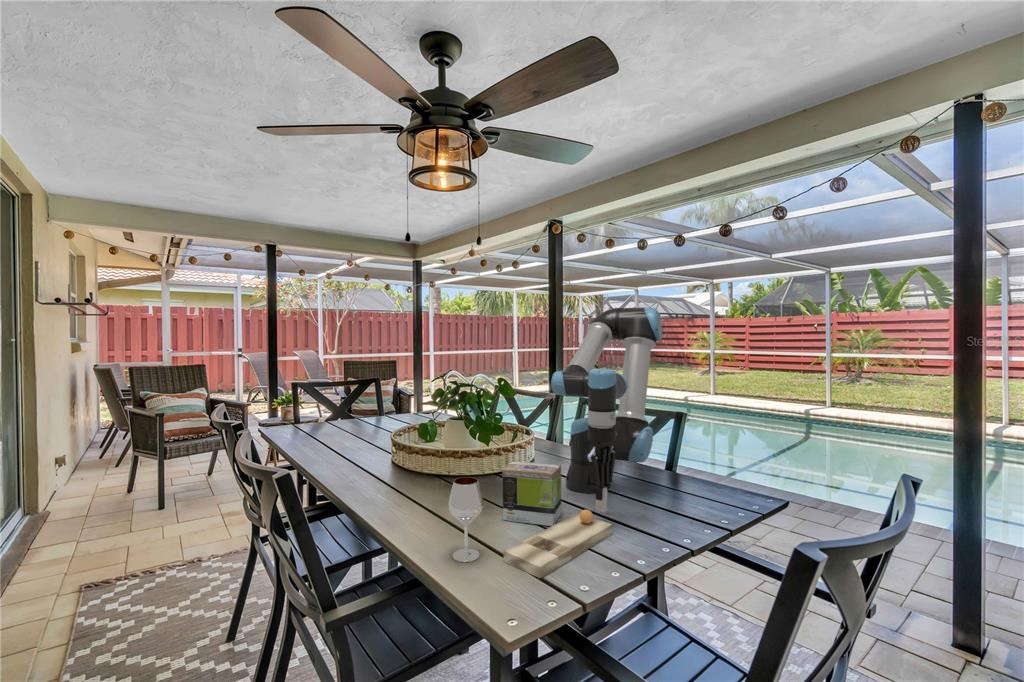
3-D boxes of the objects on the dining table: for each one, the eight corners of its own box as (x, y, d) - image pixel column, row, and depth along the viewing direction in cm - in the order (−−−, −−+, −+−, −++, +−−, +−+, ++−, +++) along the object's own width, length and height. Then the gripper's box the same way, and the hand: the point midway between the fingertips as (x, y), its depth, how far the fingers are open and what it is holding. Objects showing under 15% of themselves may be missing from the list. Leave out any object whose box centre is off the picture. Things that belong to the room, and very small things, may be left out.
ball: (576, 523, 125) (577, 510, 125) (584, 519, 127) (584, 506, 127) (588, 527, 122) (588, 513, 122) (595, 522, 125) (595, 509, 125)
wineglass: (449, 548, 116) (449, 475, 116) (482, 547, 117) (482, 475, 116) (448, 565, 108) (447, 487, 107) (483, 563, 109) (483, 486, 108)
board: (503, 561, 110) (503, 550, 110) (577, 522, 132) (577, 513, 132) (540, 578, 102) (540, 567, 102) (612, 533, 124) (612, 524, 124)
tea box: (561, 514, 137) (562, 463, 137) (553, 528, 128) (553, 474, 127) (513, 507, 142) (513, 459, 142) (501, 520, 133) (501, 468, 132)
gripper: (600, 431, 122) (600, 521, 123) (625, 423, 132) (625, 507, 133) (576, 427, 127) (576, 513, 128) (602, 420, 137) (602, 500, 138)
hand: (601, 510), depth 130 cm, fingers closed
